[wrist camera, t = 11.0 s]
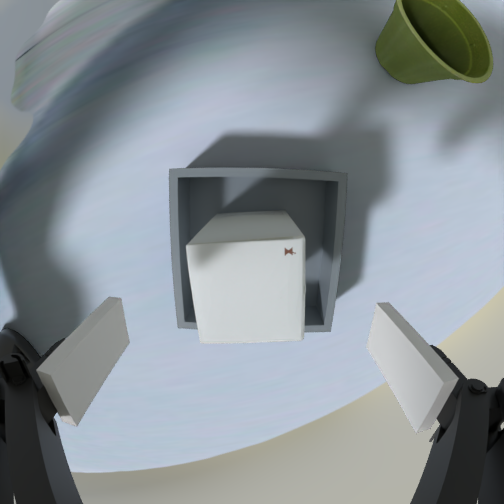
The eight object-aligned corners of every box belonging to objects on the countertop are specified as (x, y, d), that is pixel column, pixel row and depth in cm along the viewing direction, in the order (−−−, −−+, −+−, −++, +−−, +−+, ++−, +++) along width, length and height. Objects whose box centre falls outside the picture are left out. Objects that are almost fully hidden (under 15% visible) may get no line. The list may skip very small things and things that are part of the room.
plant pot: (387, 113, 25) (444, 90, 15) (339, 27, 23) (370, -24, 12) (451, 94, 24) (508, 77, 13) (409, 18, 21) (451, -18, 10)
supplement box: (214, 212, 28) (182, 240, 16) (287, 208, 28) (309, 234, 16) (219, 280, 30) (197, 345, 18) (288, 277, 30) (306, 342, 18)
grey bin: (188, 306, 32) (177, 327, 27) (183, 169, 28) (169, 168, 23) (320, 309, 32) (330, 331, 27) (332, 173, 28) (347, 173, 23)
